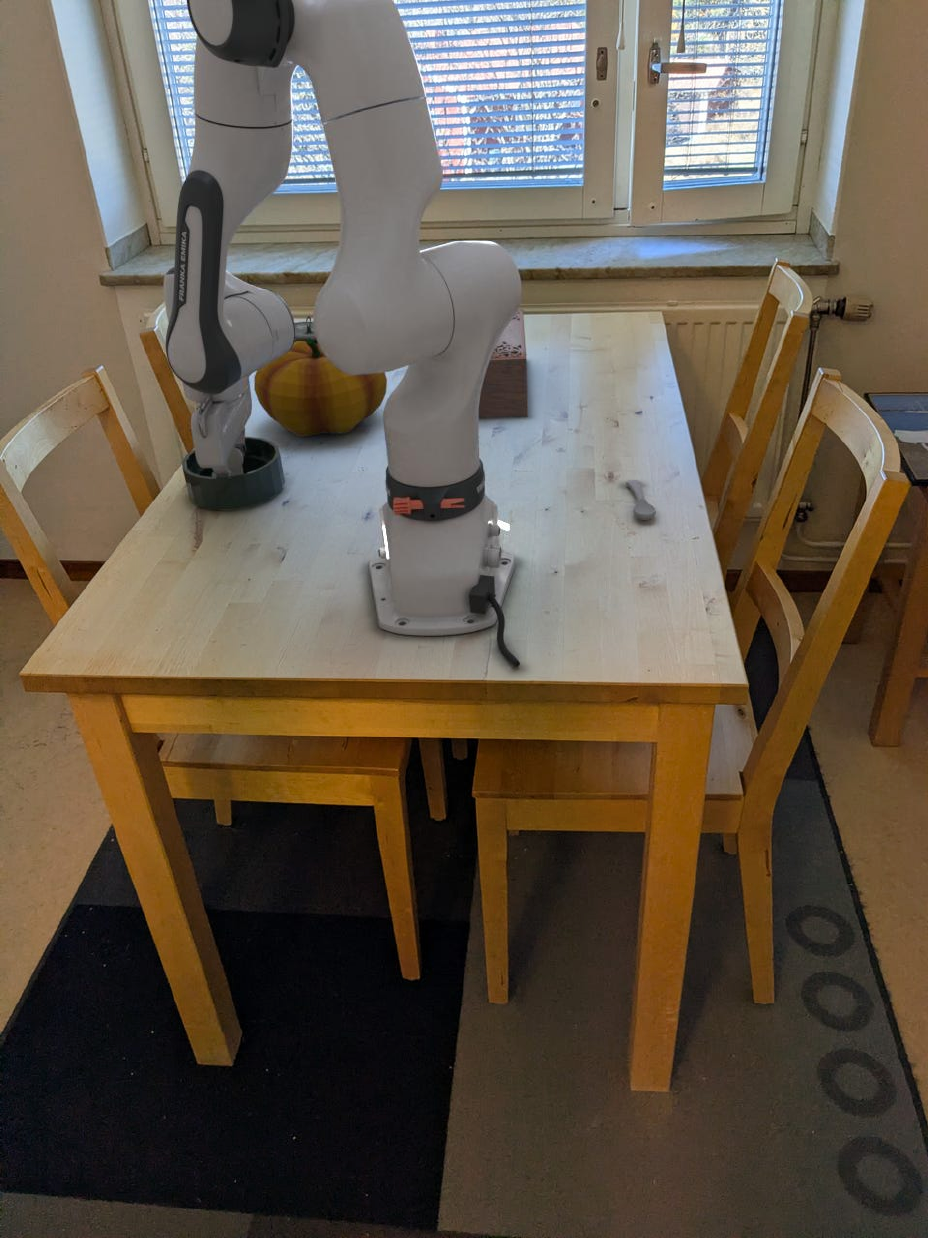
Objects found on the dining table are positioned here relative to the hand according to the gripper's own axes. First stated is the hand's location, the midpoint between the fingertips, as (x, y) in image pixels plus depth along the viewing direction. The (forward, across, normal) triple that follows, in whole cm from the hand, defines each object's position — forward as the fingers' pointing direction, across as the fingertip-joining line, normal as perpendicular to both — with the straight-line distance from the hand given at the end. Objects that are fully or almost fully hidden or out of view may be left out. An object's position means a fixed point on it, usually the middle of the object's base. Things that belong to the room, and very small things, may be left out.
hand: (233, 468), depth 146 cm
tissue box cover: (+4, +36, -37) cm, 52 cm away
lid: (+4, +68, 0) cm, 69 cm away
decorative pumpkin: (+4, +24, -10) cm, 26 cm away
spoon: (+4, -9, -59) cm, 60 cm away
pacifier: (+3, -1, 0) cm, 3 cm away
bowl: (+4, 0, 0) cm, 4 cm away
